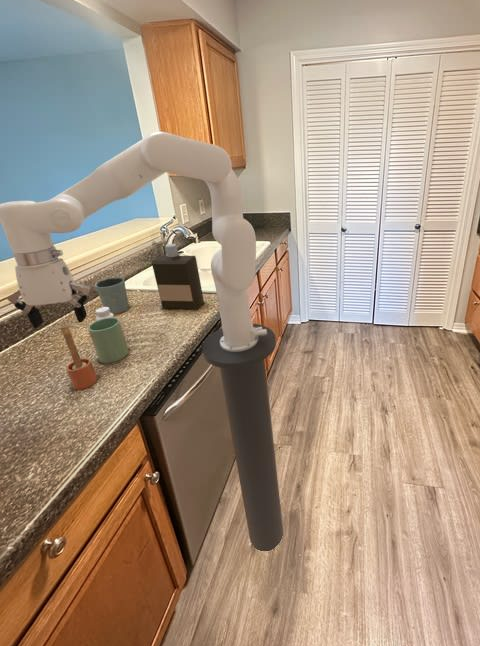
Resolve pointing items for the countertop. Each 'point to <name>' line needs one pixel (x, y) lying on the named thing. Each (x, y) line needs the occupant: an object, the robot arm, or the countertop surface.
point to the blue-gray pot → (113, 294)
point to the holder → (82, 374)
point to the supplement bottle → (103, 313)
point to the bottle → (178, 280)
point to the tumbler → (108, 339)
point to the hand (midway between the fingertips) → (60, 322)
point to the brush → (72, 348)
